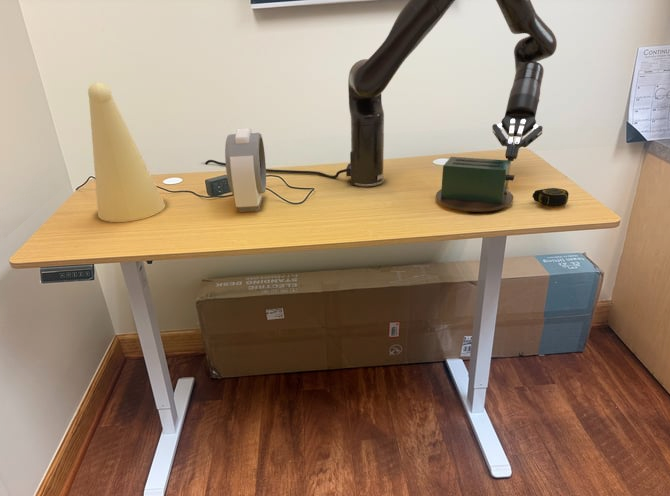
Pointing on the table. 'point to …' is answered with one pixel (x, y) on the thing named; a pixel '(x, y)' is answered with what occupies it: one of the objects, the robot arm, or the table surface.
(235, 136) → the alarm clock
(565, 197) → the tape measure
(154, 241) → the table surface
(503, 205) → the toaster
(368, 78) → the robot arm
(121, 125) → the cone light
